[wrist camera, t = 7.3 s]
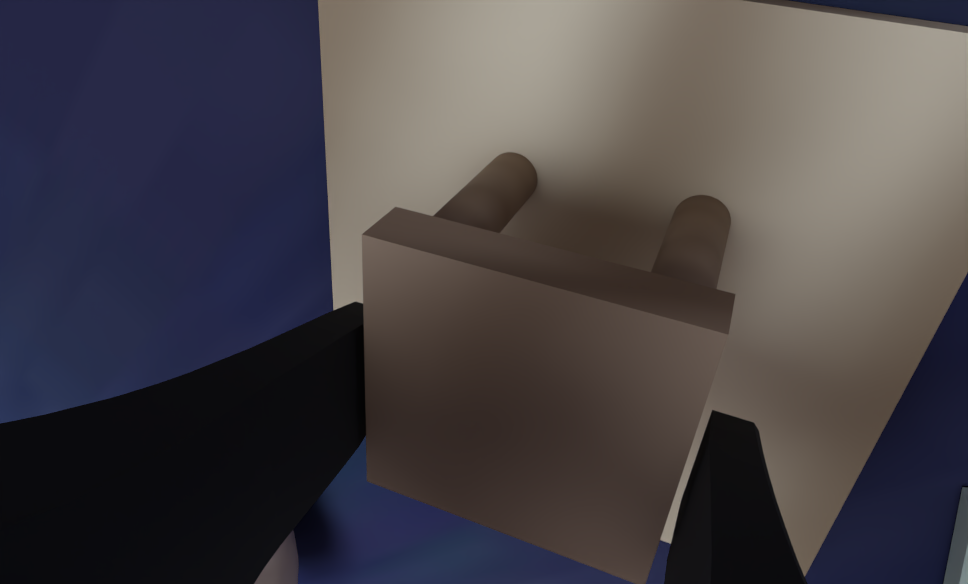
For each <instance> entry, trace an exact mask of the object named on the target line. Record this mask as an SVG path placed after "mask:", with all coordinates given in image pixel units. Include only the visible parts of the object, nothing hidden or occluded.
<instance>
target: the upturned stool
mask: <svg viewBox="0 0 968 584" xmlns="http://www.w3.org/2000/svg"><path fill="white" fill-rule="evenodd" d="M943 584H968V488H967V487H962V492H961V497H960V502H959V507H958V512H957V517H956V522H955V527H954V532H953V537H952V542H951V547H950V552H949V557H948V562H947V567H946V573H945V578H944V583H943Z"/></svg>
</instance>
